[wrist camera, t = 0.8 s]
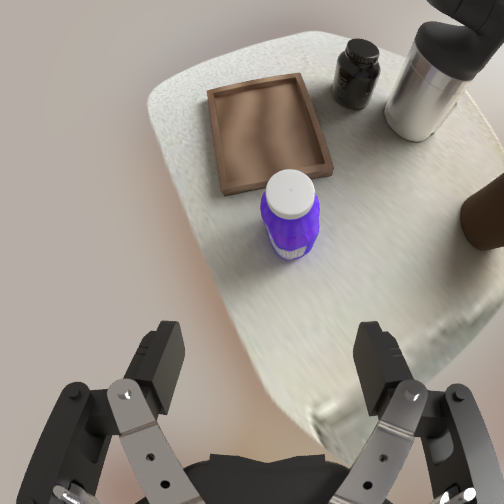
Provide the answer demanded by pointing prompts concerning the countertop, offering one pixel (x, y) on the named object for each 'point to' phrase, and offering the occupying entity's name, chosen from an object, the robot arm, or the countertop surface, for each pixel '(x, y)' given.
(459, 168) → the countertop surface
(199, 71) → the countertop surface
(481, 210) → the olive oil
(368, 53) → the supplement bottle
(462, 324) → the countertop surface
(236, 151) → the walnut tray
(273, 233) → the bottle
